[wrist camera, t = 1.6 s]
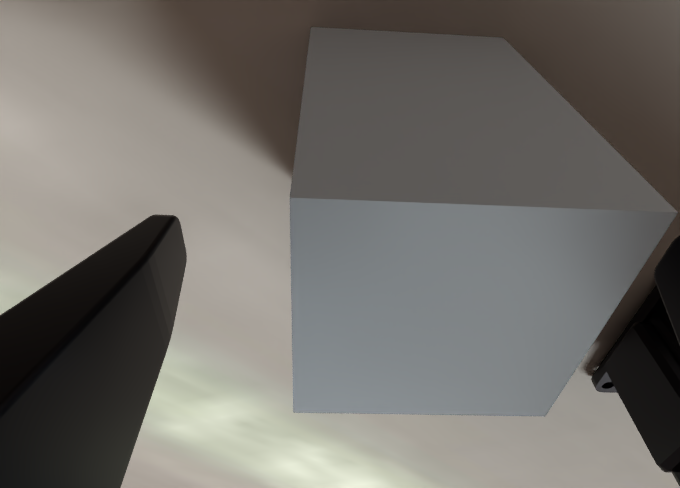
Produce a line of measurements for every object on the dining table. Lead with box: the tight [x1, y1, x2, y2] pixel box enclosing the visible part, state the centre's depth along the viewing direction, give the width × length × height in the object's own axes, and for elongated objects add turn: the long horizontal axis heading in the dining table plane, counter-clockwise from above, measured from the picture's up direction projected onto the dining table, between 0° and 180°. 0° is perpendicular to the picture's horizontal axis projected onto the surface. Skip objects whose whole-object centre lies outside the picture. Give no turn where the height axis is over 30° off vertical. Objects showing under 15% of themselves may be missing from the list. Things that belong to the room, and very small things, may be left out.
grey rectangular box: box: [290, 27, 678, 416], centre depth 9 cm, size 4×4×7 cm
